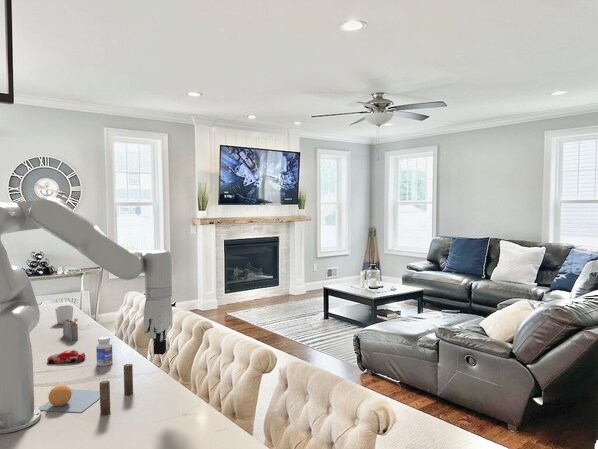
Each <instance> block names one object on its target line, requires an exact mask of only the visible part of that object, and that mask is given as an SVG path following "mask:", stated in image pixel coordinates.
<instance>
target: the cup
mask: <svg viewBox="0 0 598 449" xmlns="http://www.w3.org/2000/svg"><path fill="white" fill-rule="evenodd" d="M54 311H55V317H56V323H58V324H60V325H63V320H66V319H69V323H70V320H72V321H73V317H74V316H73V314H74V305H70V304H69V305H60V306H56V307H55V310H54Z"/></svg>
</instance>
